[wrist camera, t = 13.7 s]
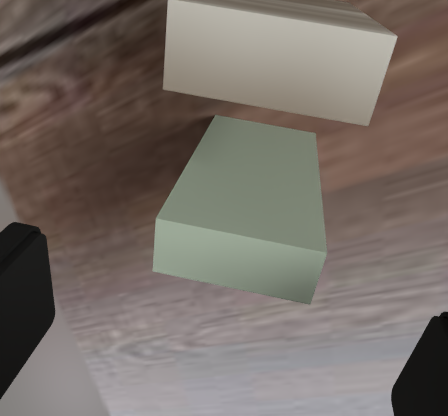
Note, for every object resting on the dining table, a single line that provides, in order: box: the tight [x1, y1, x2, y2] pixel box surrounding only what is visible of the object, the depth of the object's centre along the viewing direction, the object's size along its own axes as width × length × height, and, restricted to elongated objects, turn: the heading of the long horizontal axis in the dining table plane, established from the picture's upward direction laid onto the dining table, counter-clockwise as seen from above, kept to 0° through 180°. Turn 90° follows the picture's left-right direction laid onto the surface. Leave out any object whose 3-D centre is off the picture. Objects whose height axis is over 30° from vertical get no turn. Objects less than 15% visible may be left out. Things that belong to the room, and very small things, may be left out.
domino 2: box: [153, 115, 327, 304], centre depth 17 cm, size 2×5×10 cm, turn 83°
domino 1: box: [163, 0, 398, 126], centre depth 14 cm, size 2×5×10 cm, turn 82°
